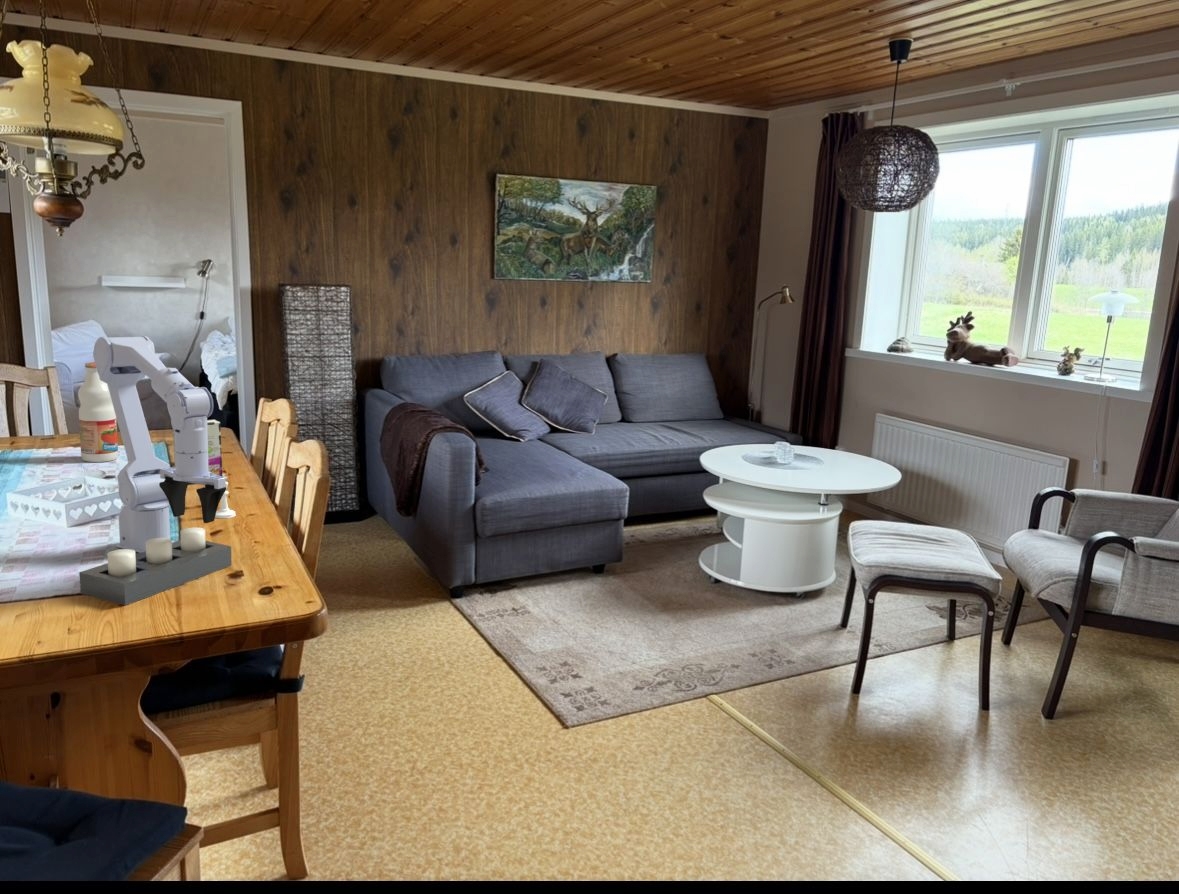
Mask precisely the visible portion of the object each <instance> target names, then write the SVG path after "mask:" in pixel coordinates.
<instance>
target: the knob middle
mask: <svg viewBox="0 0 1179 894" xmlns="http://www.w3.org/2000/svg"><path fill="white" fill-rule="evenodd" d="M172 541H173V540H172V539H171V538H170V539H169V538H154V539H150V540H147V541H146V562H147V563H151V564H155V565H160V564H163V563H166V562H169V561H172Z"/></svg>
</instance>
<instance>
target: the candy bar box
mask: <svg viewBox="0 0 1179 894" xmlns="http://www.w3.org/2000/svg"><path fill="white" fill-rule="evenodd" d="M207 433H208V470H209V472H211V473H214V474H216V475H218V476H221V477H222V475H223V457H222V437H221V436H222V432H221V422H220V421H218V420H216V419H207ZM172 441H173V459H174V468H176V454H175V428H173V427H172ZM188 485H195V483H188Z"/></svg>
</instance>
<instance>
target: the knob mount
mask: <svg viewBox="0 0 1179 894" xmlns="http://www.w3.org/2000/svg"><path fill="white" fill-rule="evenodd" d="M205 545H206V549H204V550H201V551H198V552H195V553H189V552H184V551H181V539H179V540H176V541H175V542H173V543H172V561H169V562H166V563H163V564H160V565H155V564H151V563H147V562H146V551H144V552H141V553H139V552H137V553H135V557H136V573H134V574H131V575H128V576H125V577H122V578H117V577H113V576H109V575H108V562H107V563H105V564H104V563H103V564H101V565H98V566H95V567H92V568H89V569H86V570H82V571H79V573H78V575H79V588H80V589H79V590H80V594H81V595H83V596H84V595H85V596H89V597H92V598H96V599H98V600H104V601H107V602H111V603H115V604H117V605H118V604H119V605H122V606H128V605H131V604H134V603H136V602H139V601H142V600H143V599H146V598H149V597H152V596H154V595H157V594H159V593H162V592H165V591H168V590H170V589H173V588H176V587H178V586H181V585H183V584H186V583H188V582H189V583H190V582H191V581H194V580H197V579H200V578H201V577H205V576H208V575H210V574H213V573H216V572H217V571H220V570H223V569H226V568H229V567H231V566H232V546H230V545H226V544H222V543H217V542H213V541H209V540H205Z"/></svg>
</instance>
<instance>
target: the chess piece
mask: <svg viewBox="0 0 1179 894" xmlns="http://www.w3.org/2000/svg"><path fill="white" fill-rule="evenodd" d="M222 477H225V478H226V480H227V479H229V478H228V476H226V474H223V473H222ZM228 485H229V482H228V481H226V491H225V492H224V494H223V496H222V498H221V500H220V507H219V509H217V511H216V515H215V519H221V520H222V519H231V518H234V517H235V516H237V515H236V511H235V510H233V509H230V508H229V506H228V499H227V495H228V494H230V492H229V490H227V488H228Z"/></svg>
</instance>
